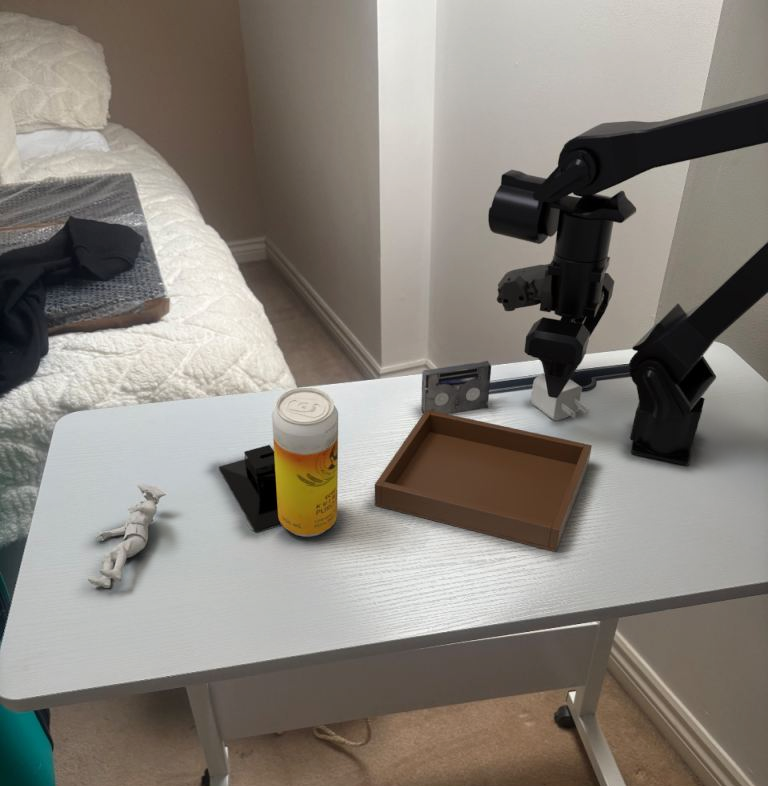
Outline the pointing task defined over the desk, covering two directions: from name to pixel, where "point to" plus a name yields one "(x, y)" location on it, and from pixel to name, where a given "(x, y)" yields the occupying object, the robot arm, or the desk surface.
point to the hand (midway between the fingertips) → (562, 378)
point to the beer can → (306, 460)
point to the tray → (485, 478)
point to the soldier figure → (129, 536)
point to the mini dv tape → (456, 388)
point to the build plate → (255, 487)
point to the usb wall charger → (557, 399)
